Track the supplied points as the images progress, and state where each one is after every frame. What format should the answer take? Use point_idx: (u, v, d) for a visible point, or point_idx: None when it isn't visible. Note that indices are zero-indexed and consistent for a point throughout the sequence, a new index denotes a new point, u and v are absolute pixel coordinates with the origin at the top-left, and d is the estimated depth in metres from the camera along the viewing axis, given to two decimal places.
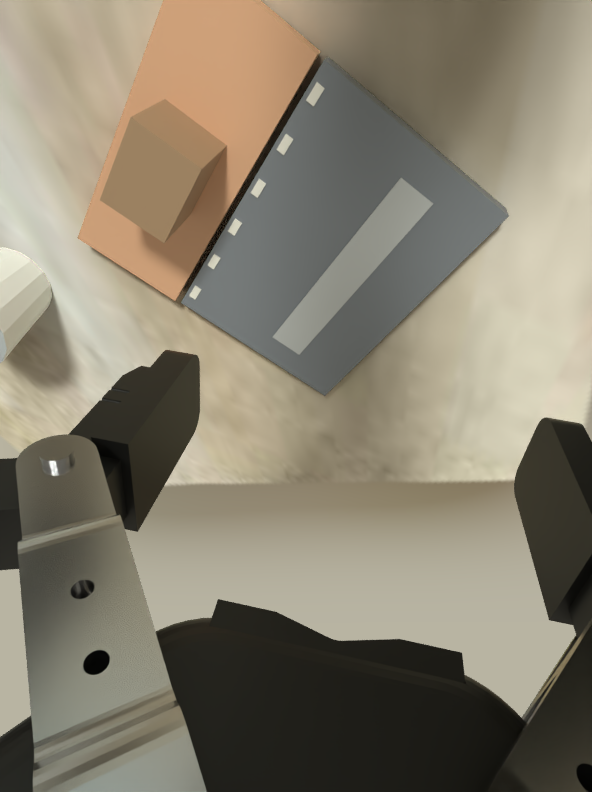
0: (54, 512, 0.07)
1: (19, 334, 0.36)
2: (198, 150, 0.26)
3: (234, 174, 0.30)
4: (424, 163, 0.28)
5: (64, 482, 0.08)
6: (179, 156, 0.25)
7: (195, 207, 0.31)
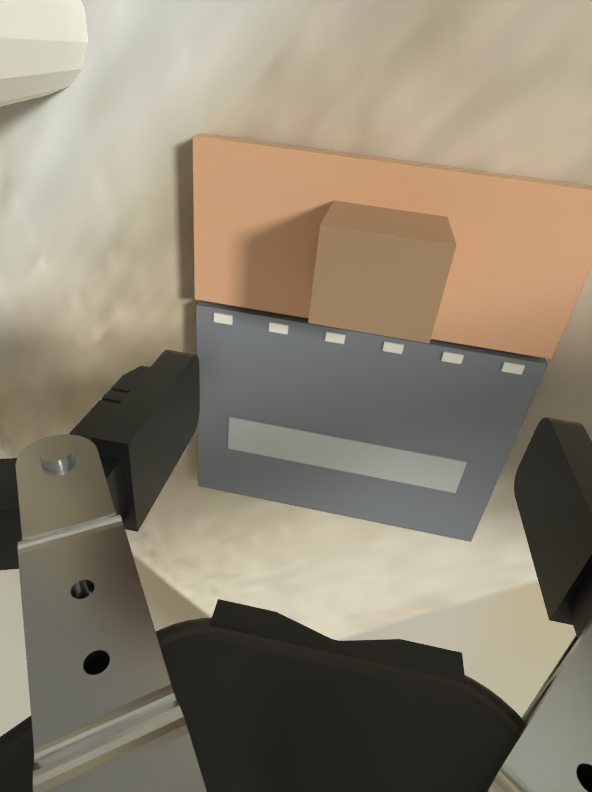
0: (54, 512, 0.07)
1: None
2: None
3: None
4: (487, 472, 0.29)
5: (64, 483, 0.08)
6: (432, 314, 0.20)
7: None
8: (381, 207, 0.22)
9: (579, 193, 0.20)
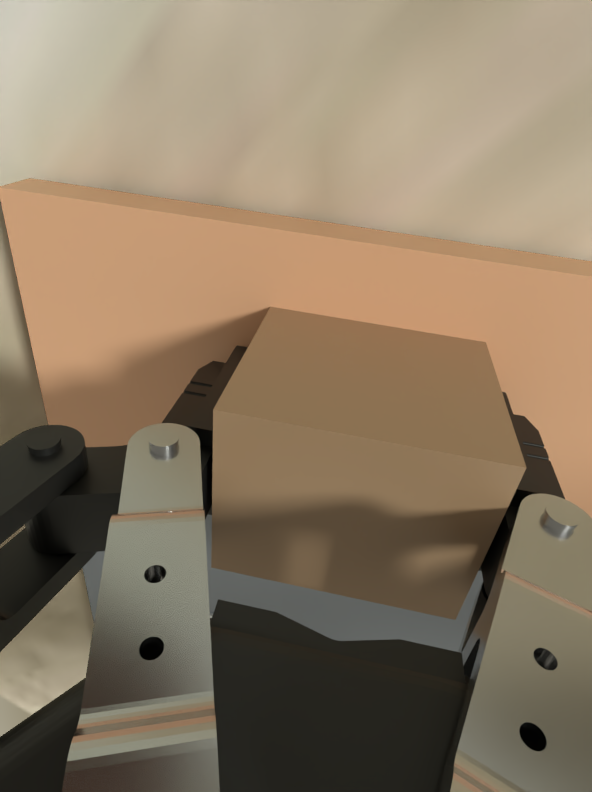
0: (174, 494, 0.08)
1: None
2: None
3: None
4: None
5: (164, 468, 0.08)
6: (463, 579, 0.09)
7: None
8: (359, 322, 0.12)
9: None
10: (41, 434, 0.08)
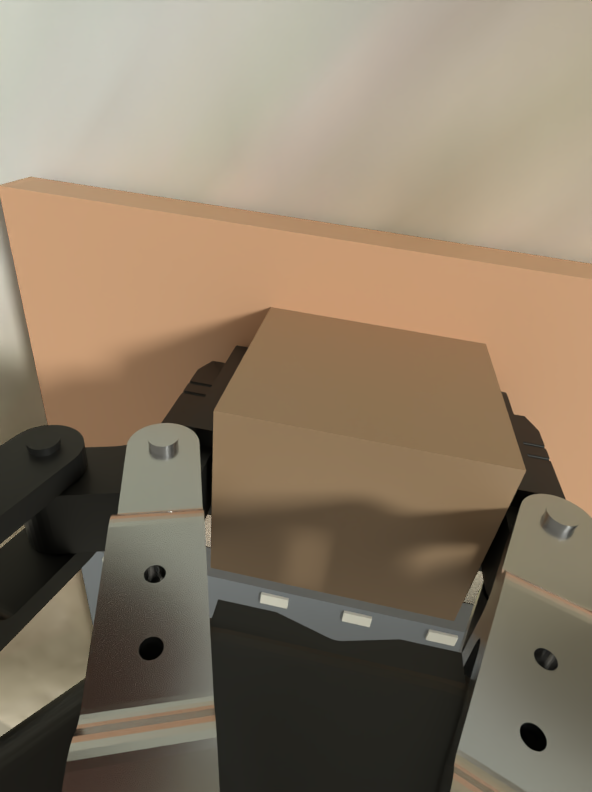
0: (173, 494, 0.08)
1: None
2: None
3: None
4: None
5: (163, 469, 0.08)
6: (463, 580, 0.09)
7: None
8: (359, 323, 0.12)
9: None
10: (40, 433, 0.08)
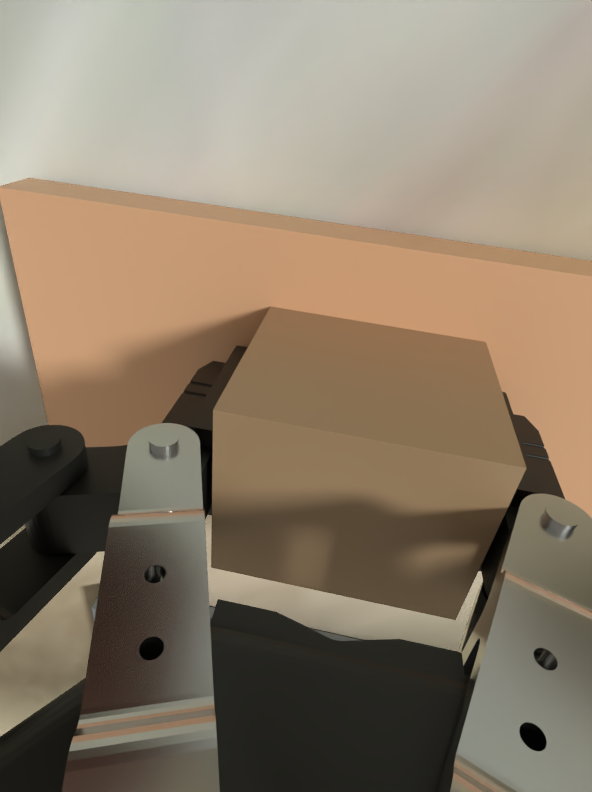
0: (174, 493, 0.08)
1: None
2: None
3: None
4: None
5: (164, 468, 0.08)
6: (463, 578, 0.09)
7: None
8: (359, 322, 0.12)
9: None
10: (41, 433, 0.08)
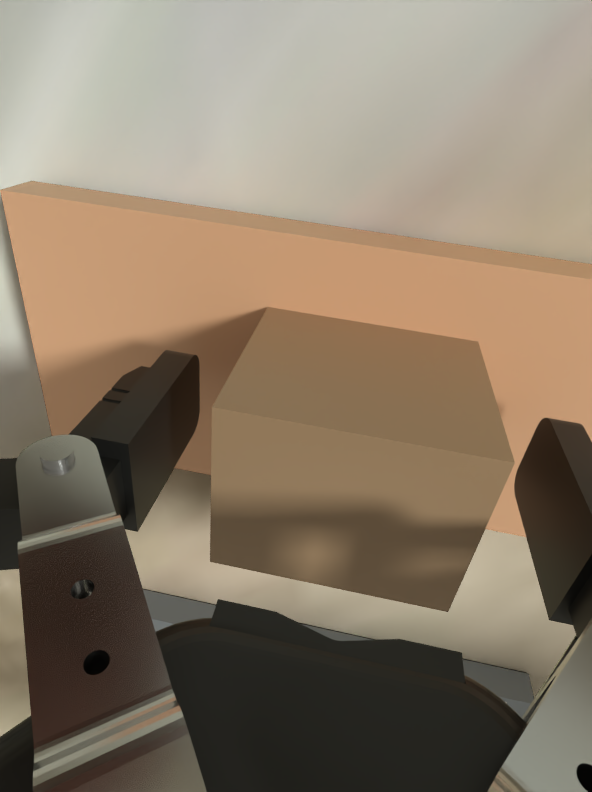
0: (54, 512, 0.07)
1: None
2: None
3: None
4: None
5: (64, 483, 0.08)
6: (455, 571, 0.10)
7: None
8: (354, 322, 0.12)
9: None
10: None
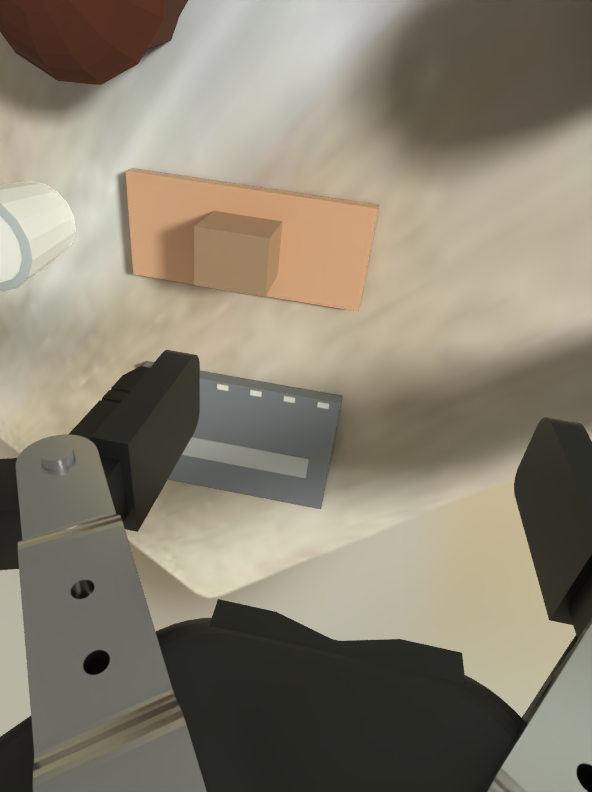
0: (54, 512, 0.07)
1: None
2: (270, 278, 0.35)
3: None
4: (321, 465, 0.48)
5: (64, 483, 0.08)
6: (264, 279, 0.34)
7: None
8: (242, 215, 0.36)
9: (354, 208, 0.34)
10: None
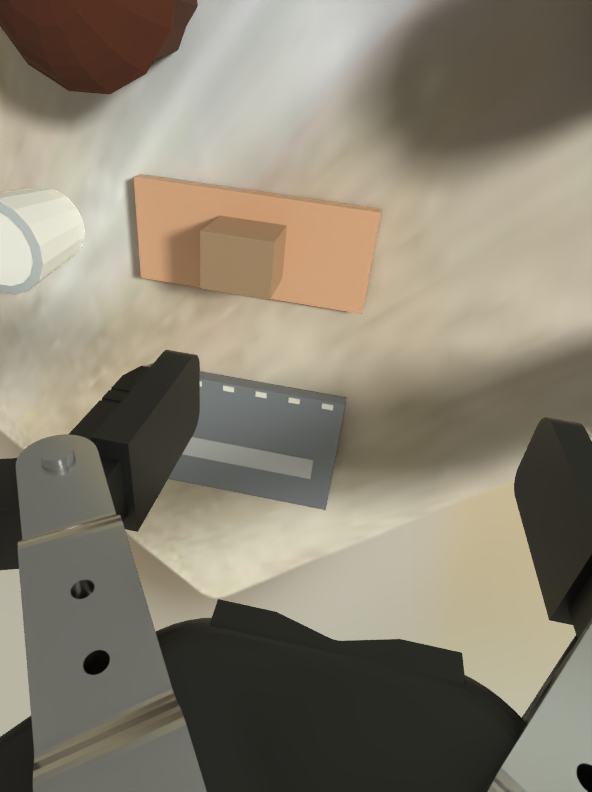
0: (54, 512, 0.07)
1: None
2: (275, 281, 0.36)
3: None
4: (326, 466, 0.48)
5: (64, 482, 0.08)
6: (268, 282, 0.34)
7: None
8: (247, 219, 0.37)
9: (357, 212, 0.35)
10: None
